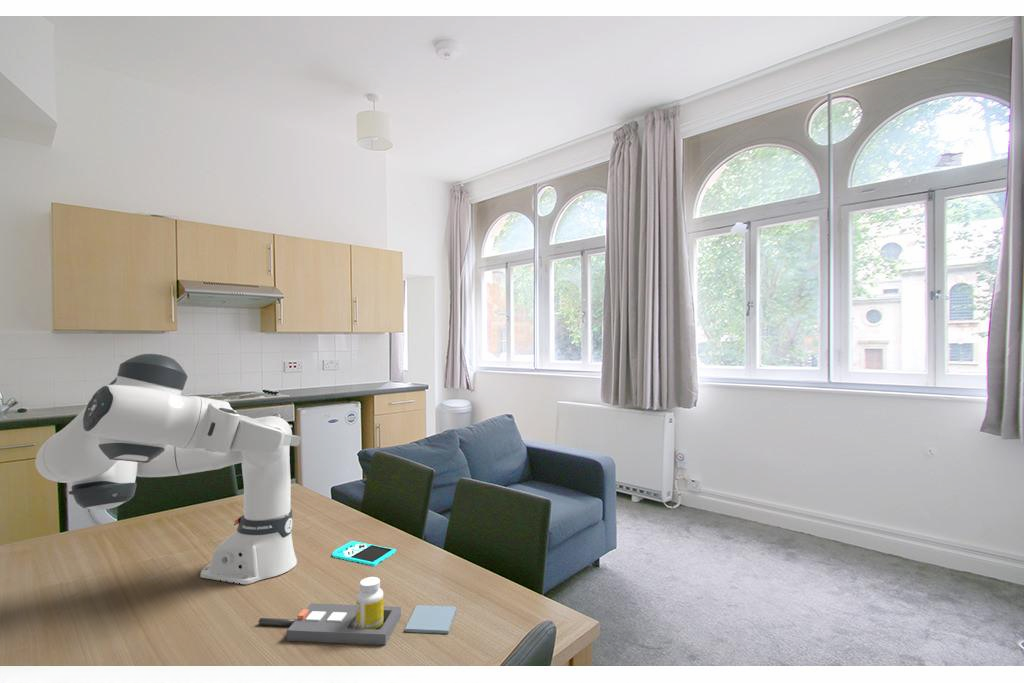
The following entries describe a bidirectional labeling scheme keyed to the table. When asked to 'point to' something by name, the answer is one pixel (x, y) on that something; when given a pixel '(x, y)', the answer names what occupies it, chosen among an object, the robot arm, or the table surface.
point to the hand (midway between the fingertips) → (288, 436)
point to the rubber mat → (431, 619)
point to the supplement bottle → (369, 604)
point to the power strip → (335, 625)
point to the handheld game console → (363, 553)
